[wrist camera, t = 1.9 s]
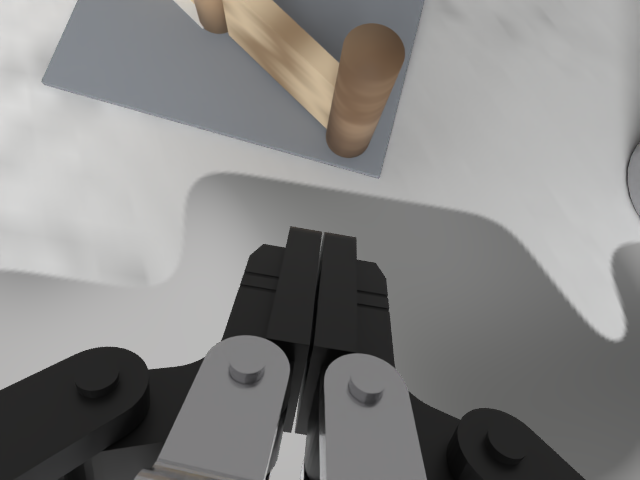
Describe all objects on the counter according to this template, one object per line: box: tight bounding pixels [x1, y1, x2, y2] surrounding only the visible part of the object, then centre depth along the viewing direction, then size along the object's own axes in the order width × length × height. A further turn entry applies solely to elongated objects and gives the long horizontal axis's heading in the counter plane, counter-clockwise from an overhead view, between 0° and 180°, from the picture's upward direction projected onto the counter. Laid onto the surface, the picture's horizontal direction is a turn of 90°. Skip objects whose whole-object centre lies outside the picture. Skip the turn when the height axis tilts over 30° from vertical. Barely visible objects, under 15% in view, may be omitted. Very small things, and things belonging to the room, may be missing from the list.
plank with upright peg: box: [222, 0, 405, 158], centre depth 26 cm, size 12×3×9 cm, turn 45°
